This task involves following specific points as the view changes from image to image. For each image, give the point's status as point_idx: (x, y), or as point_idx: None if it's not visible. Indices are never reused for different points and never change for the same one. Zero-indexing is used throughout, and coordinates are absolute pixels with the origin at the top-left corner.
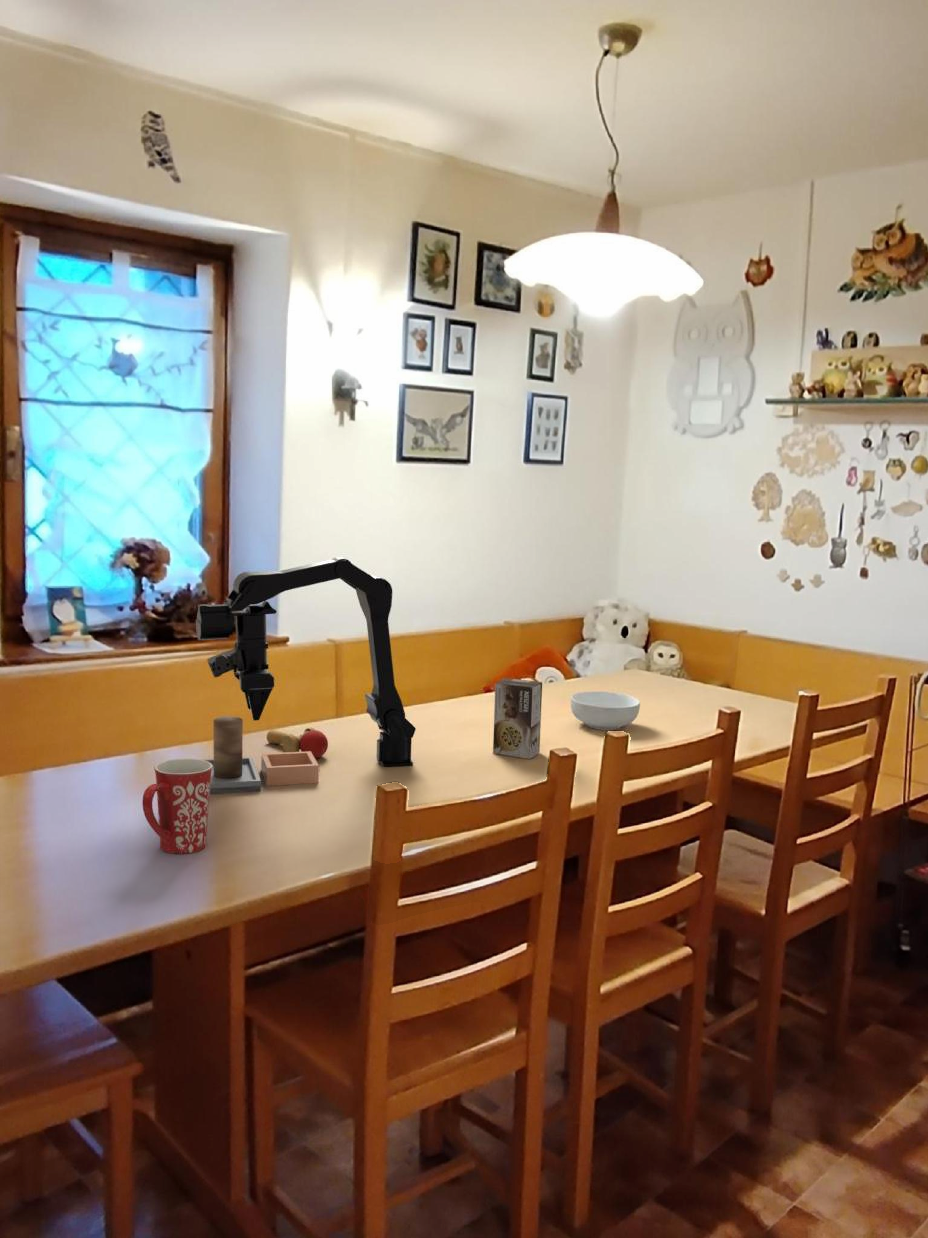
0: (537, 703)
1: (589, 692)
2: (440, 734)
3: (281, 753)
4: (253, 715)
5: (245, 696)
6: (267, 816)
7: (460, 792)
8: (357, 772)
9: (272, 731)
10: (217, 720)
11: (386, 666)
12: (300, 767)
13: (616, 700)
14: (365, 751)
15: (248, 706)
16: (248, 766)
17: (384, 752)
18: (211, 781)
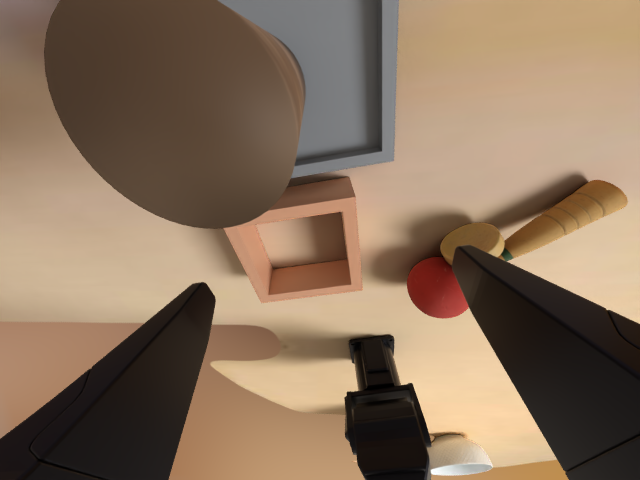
0: None
1: (490, 467)
2: (481, 378)
3: (352, 242)
4: (172, 306)
5: (524, 295)
6: (29, 208)
7: (251, 382)
8: (326, 317)
9: (612, 204)
10: (130, 27)
11: None
12: (249, 276)
13: (470, 464)
14: (435, 324)
15: (464, 256)
16: (345, 149)
17: (362, 358)
18: None
